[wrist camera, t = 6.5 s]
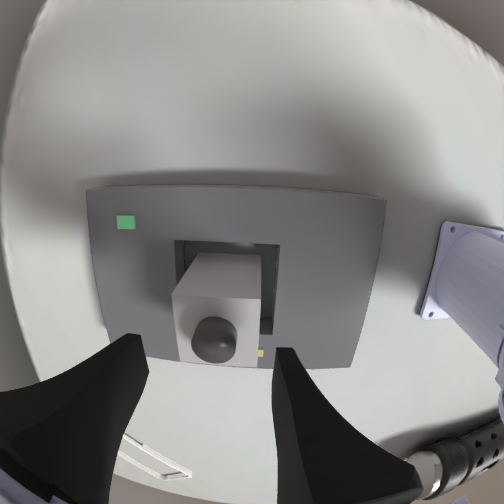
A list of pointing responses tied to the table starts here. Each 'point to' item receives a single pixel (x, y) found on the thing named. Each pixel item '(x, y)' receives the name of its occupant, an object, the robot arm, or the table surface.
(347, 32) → the table surface
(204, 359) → the charger plug
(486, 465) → the muzzle brake
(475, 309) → the robot arm
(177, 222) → the charging plate
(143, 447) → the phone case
